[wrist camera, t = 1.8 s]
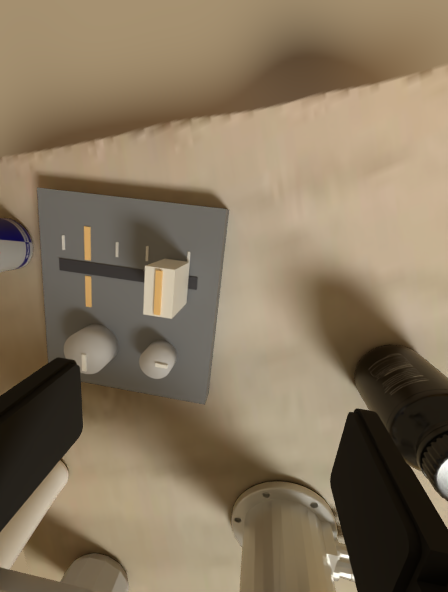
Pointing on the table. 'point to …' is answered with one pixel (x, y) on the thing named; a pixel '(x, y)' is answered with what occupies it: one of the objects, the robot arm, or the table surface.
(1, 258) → the energy drink
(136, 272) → the console
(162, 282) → the fader tab
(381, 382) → the supplement bottle
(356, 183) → the table surface
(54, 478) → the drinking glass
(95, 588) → the jar
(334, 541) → the robot arm
